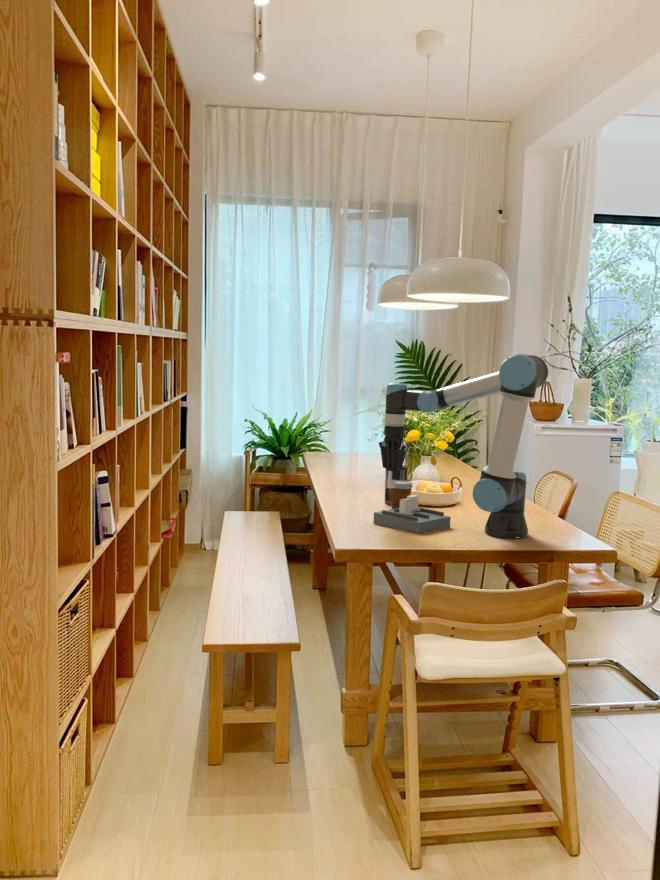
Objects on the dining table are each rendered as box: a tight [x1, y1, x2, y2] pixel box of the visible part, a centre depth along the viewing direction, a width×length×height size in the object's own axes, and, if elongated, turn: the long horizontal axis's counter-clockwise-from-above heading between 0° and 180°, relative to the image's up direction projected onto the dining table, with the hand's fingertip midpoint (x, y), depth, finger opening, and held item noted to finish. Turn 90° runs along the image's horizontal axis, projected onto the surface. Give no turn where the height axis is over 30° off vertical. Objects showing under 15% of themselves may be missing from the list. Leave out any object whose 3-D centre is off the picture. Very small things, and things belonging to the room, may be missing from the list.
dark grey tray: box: [372, 494, 451, 534], centre depth 281 cm, size 22×18×10 cm
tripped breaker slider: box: [399, 498, 414, 516], centre depth 278 cm, size 4×5×6 cm
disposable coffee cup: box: [391, 480, 414, 509], centre depth 307 cm, size 10×10×12 cm
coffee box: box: [383, 465, 408, 505], centre depth 324 cm, size 9×6×16 cm
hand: (391, 487), depth 282 cm, fingers closed
